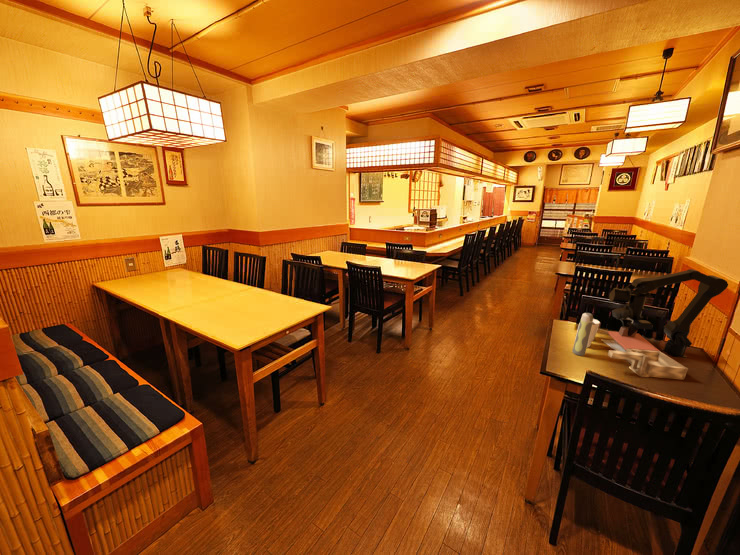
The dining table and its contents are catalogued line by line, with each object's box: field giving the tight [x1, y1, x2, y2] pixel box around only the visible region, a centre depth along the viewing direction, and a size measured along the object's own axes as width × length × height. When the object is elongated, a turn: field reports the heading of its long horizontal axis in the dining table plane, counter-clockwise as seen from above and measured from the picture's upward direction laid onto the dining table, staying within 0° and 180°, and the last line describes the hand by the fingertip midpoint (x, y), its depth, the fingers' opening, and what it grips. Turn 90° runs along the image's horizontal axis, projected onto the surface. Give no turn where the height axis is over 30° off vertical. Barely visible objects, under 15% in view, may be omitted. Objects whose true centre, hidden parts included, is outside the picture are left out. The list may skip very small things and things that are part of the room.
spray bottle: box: [572, 312, 594, 357], centre depth 139 cm, size 5×5×20 cm
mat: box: [601, 339, 626, 352], centre depth 147 cm, size 16×16×1 cm
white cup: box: [591, 318, 601, 342], centre depth 156 cm, size 8×8×10 cm
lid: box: [607, 326, 660, 351], centre depth 145 cm, size 14×14×5 cm
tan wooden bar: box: [607, 349, 646, 360], centre depth 126 cm, size 13×2×2 cm, turn 84°
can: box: [574, 322, 595, 348], centre depth 149 cm, size 6×6×12 cm
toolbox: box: [624, 349, 689, 380], centre depth 130 cm, size 17×15×9 cm
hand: (627, 334), depth 150 cm, fingers closed on lid, 3 cm apart
